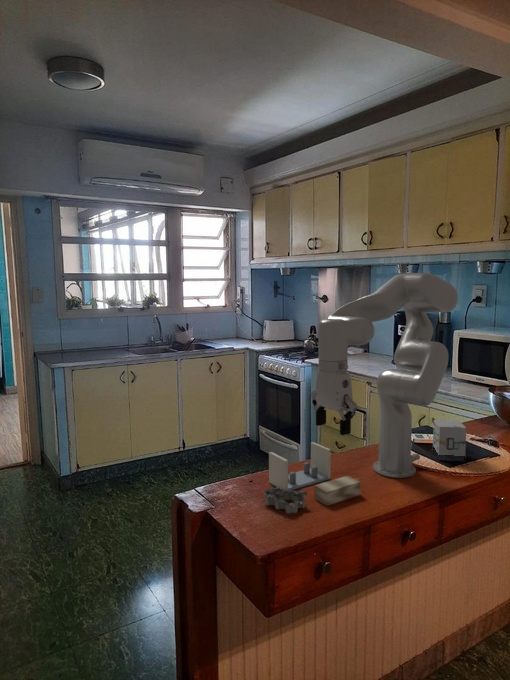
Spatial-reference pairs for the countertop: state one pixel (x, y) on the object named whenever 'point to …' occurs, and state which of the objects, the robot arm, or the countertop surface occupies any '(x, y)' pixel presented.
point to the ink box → (449, 437)
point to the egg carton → (278, 495)
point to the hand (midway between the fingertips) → (332, 429)
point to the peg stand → (302, 478)
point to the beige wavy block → (336, 490)
